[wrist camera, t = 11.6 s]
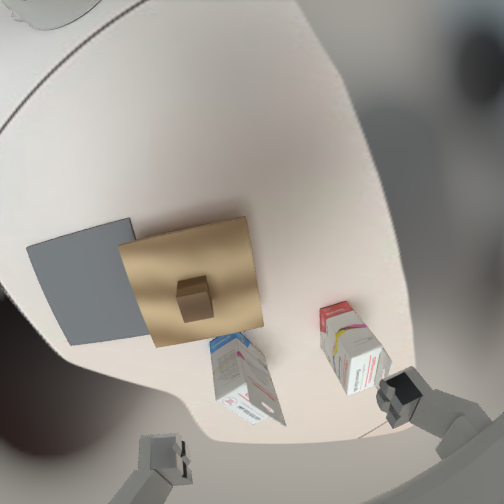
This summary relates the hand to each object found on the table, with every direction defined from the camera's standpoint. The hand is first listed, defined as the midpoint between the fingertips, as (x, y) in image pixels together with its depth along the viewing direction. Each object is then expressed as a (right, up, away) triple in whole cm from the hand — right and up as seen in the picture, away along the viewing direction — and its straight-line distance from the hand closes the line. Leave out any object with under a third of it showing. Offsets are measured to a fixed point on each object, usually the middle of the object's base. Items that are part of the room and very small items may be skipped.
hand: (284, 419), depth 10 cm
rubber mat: (-23, +1, +26) cm, 35 cm away
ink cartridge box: (+12, -6, +36) cm, 38 cm away
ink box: (-4, -9, +34) cm, 35 cm away
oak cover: (-8, +2, +23) cm, 24 cm away
